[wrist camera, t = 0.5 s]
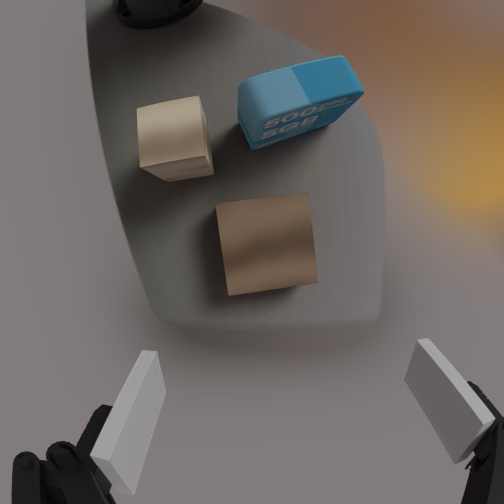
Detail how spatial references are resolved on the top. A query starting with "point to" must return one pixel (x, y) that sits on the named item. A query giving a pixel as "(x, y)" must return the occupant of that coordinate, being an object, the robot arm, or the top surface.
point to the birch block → (175, 140)
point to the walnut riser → (267, 243)
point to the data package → (295, 99)
